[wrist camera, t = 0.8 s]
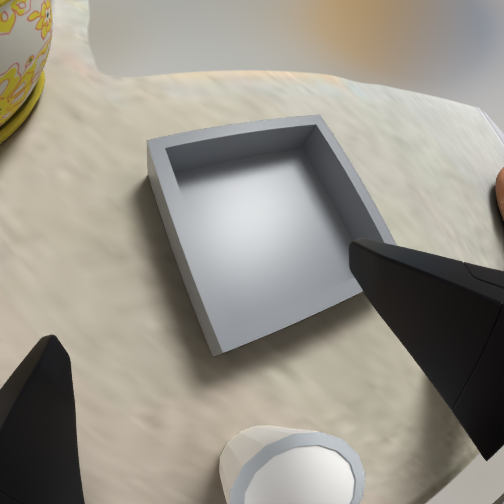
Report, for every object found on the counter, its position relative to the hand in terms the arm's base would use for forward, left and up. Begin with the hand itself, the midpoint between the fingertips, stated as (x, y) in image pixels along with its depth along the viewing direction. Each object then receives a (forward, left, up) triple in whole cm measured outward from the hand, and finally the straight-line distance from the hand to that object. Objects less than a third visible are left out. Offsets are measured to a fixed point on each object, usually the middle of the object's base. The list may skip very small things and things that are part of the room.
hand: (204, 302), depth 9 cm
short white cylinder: (-9, -1, -12) cm, 15 cm away
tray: (+6, -8, -12) cm, 16 cm away
